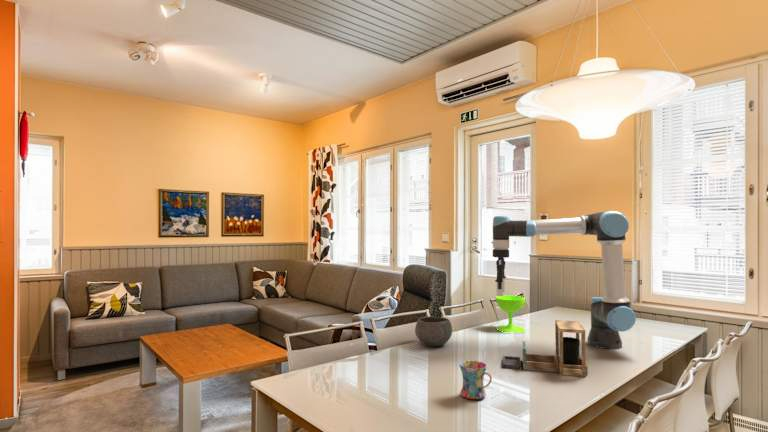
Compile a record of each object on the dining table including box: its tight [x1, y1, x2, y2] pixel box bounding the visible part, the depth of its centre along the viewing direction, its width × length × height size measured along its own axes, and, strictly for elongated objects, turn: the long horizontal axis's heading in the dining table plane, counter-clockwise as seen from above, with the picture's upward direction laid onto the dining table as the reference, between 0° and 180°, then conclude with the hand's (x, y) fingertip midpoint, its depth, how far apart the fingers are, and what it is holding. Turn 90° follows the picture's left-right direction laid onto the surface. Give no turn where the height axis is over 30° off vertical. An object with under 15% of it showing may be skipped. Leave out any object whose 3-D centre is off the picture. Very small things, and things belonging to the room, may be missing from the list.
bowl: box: [414, 316, 453, 347], centre depth 209 cm, size 18×18×13 cm
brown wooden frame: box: [554, 319, 587, 378], centre depth 173 cm, size 9×16×18 cm, turn 164°
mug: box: [458, 360, 493, 400], centre depth 144 cm, size 12×9×11 cm
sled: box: [522, 341, 589, 376], centre depth 175 cm, size 24×12×8 cm, turn 74°
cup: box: [563, 336, 581, 365], centre depth 173 cm, size 8×8×12 cm
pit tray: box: [502, 355, 522, 370], centre depth 179 cm, size 7×12×2 cm, turn 163°
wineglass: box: [495, 294, 526, 333], centre depth 239 cm, size 16×16×18 cm
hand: (500, 294), depth 201 cm, fingers open, 13 cm apart
